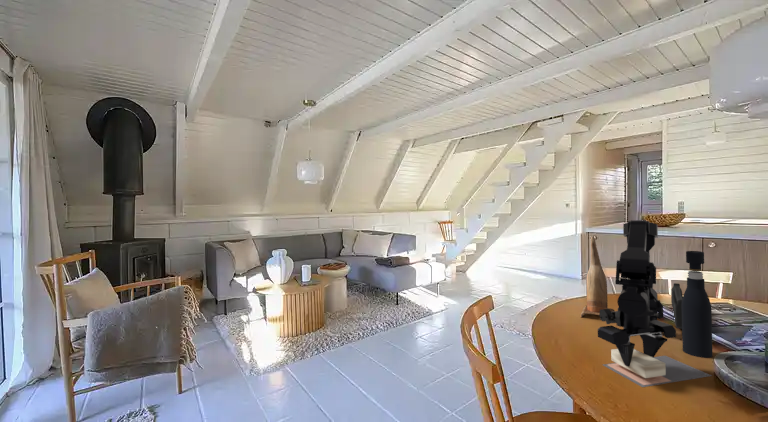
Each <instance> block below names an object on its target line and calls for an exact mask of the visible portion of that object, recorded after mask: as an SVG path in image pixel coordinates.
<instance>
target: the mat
mask: <svg viewBox="0 0 768 422" xmlns="http://www.w3.org/2000/svg"><path fill="white" fill-rule="evenodd" d="M654 358H655V359H657V360H660V361H662V362H664V363H665V367H666V375H663V376H657V377H650V378H644V377H642V376H640V375H638V374H636V373H634V372H633V371H631V370H629V369H627V368H625V367H623V366H621V365H619V364H617V363H615V362H611V363H605V364H602V366H604V367H606V368H607V369H609V370H610V371H613V372H614V373H616V374H618V375H619V376H622V377H623V378H624V379H626V380H629V381H630V382H632V383H633V384H635V385H637V386H639V387H641V388H646V387H653V386H658V385H663V384H669V383H676V382H683V381H688V380H689V381H690V380H696V379H701V378H707V377H712V376H713V375H712V374H709V373H707V372H705V371H703V370H700V369H698V368H695V367H692V366H690V365H689V364H686V363H684V362H682V361H680V360H677V359H674V358H672V357H670V356H667V355H660V356H654Z"/></svg>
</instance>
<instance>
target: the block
mask: <svg viewBox="0 0 768 422" xmlns="http://www.w3.org/2000/svg"><path fill="white" fill-rule="evenodd" d="M610 352H611V353H610V354H611V355H610V357H611V359H610V360H611V361H612V362H613V363H617V364H619V365H621V366H623V367H625V368H627V369H629V370H631V371H633V372H634V373H636V374H638V375H640V376H642V377H644V378H650V377H657V376H663V375H666V367H665V363H664V362H662V361H660V360H657V359H655V358H653V357H651V356H648V355H646V354H644V352H641V351H639V350H638V349H635V348H634V350H633V355H632V359H631V363H630V366H629V367H628V366H626V365H624V362H623V360H622V358H621V355H620V353H619V351H618V349H617V348H611V349H610Z"/></svg>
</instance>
